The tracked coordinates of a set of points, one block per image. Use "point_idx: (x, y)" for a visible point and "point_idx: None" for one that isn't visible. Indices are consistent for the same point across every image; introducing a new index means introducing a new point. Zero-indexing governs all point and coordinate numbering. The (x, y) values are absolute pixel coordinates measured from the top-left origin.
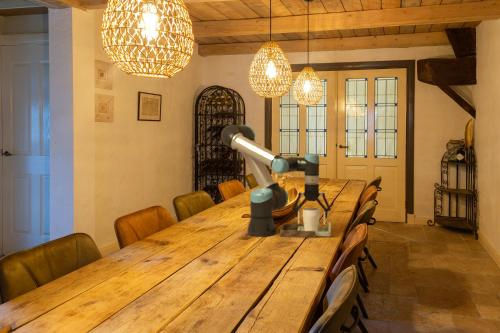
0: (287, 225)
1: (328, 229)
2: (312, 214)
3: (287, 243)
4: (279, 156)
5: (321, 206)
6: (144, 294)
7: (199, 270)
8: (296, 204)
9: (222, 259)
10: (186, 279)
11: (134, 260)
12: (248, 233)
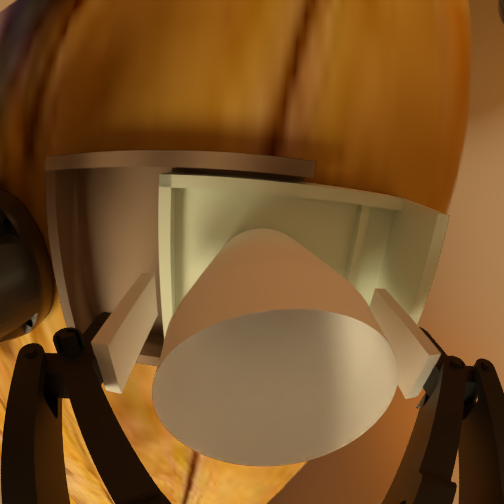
0: (78, 167)
1: (388, 269)
2: (275, 432)
3: (149, 419)
4: None
5: (408, 448)
6: (74, 499)
7: (72, 483)
8: (58, 447)
9: (67, 465)
10: (80, 493)
11: None
12: None
